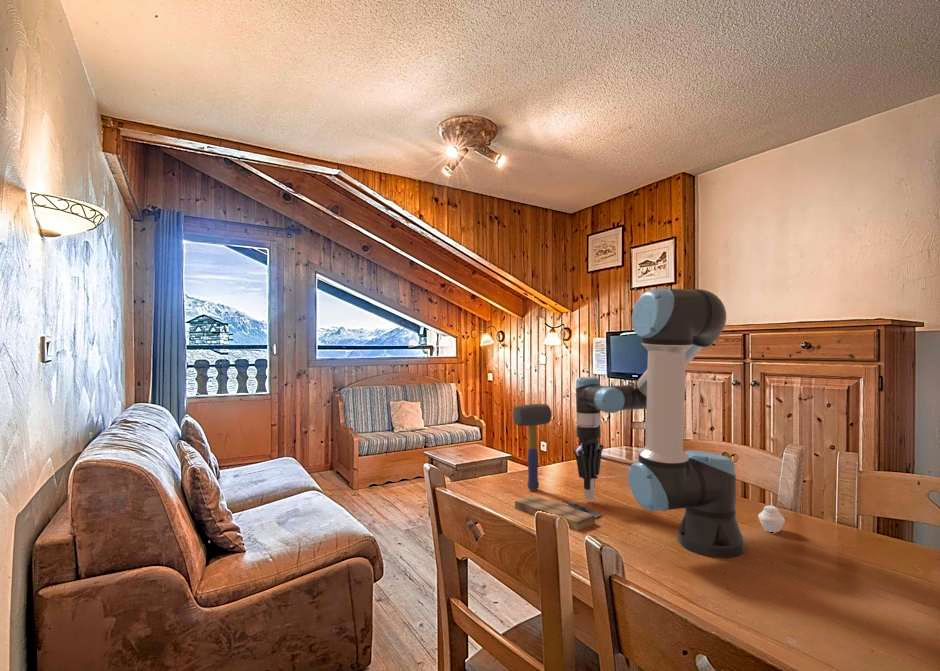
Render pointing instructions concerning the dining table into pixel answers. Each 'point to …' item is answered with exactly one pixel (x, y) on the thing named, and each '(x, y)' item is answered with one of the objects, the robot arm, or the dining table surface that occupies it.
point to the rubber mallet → (532, 434)
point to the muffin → (771, 519)
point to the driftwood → (582, 508)
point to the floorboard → (556, 511)
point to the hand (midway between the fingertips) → (589, 498)
